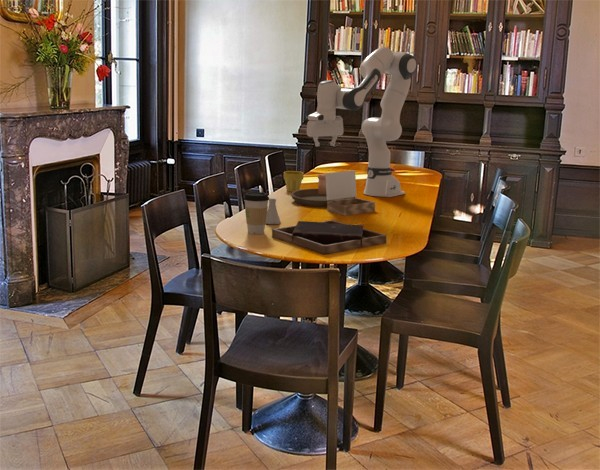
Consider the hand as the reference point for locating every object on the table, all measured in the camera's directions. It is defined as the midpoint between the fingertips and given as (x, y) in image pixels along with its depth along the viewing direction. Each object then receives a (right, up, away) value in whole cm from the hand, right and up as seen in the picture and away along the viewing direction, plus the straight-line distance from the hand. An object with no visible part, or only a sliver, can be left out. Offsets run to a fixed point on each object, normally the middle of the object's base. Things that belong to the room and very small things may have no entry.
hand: (325, 145), depth 314 cm
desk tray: (-1, -44, -66) cm, 80 cm away
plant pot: (-15, -19, +35) cm, 42 cm away
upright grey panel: (+7, -19, -12) cm, 24 cm away
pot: (-1, -22, +5) cm, 23 cm away
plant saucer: (-1, -27, +6) cm, 28 cm away
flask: (-23, -37, -41) cm, 60 cm away
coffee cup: (-29, -41, -58) cm, 77 cm away
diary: (-1, -44, -66) cm, 80 cm away
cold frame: (+10, -31, -13) cm, 35 cm away
